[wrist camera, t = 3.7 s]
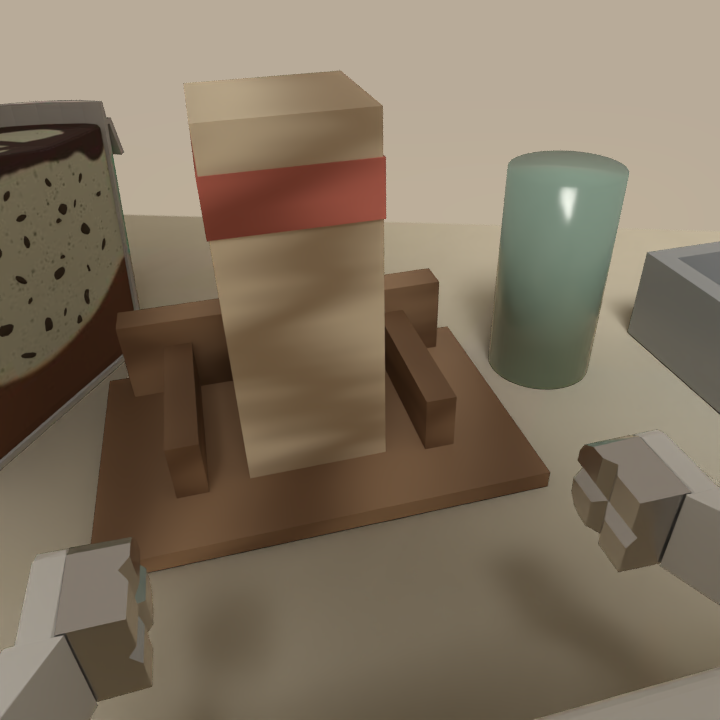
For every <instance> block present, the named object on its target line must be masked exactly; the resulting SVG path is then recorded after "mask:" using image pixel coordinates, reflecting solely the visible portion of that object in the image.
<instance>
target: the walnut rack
mask: <svg viewBox="0 0 720 720" xmlns="http://www.w3.org/2000/svg"><path fill="white" fill-rule="evenodd" d="M438 295H439V281H438V280H437V278H436V277H435V276H434V275H433V273H432V272H431V271H430V269H429V268H428V269H421V270H414V271H407V272H400V273H393V274H386V275H384V315H385V438H386V452H382V453H377V454H372V455H367V456H362V457H357V458H351V459H346V460H341V461H336V462H331V463H326V464H321V465H316V466H311V467H306V468H301V469H295V470H290V471H285V472H280V473H275V474H270V475H265V476H260V477H255V478H250V474H249V468H248V462H247V457H246V451H245V445H244V439H243V434H242V428H241V422H240V416H239V411H238V405H237V399H236V394H235V388H234V382H233V376H232V371H231V365H230V359H229V353H228V348H227V342H226V336H225V330H224V325H223V319H222V313H221V308H220V302H219V298H218V299H211V300H204V301H197V302H190V303H183V304H176V305H169V306H162V307H155V308H148V309H141V310H134V311H127V312H120V313H118V314H117V322H116V332H117V336H118V339H119V343H120V346H121V350H122V353H123V357H124V360H125V364H126V367H127V371H128V374H129V378H126V379H119V380H113V381H110V384H109V392H108V401H107V410H106V418H105V427H104V436H103V444H102V453H101V461H100V470H99V479H98V487H97V496H96V504H95V513H94V522H93V530H92V539H91V544H95V543H100V542H106V541H112V540H117V539H123V538H128V537H135V538H136V540H137V543H138V546H139V548H140V565H141V566H143V567H145V568H146V569H147V572H153V571H158V570H162V569H167V568H171V567H176V566H181V565H185V564H190V563H194V562H199V561H204V560H208V559H213V558H217V557H222V556H227V555H231V554H236V553H240V552H245V551H250V550H254V549H259V548H263V547H268V546H273V545H277V544H282V543H286V542H291V541H296V540H300V539H305V538H309V537H314V536H319V535H323V534H328V533H332V532H337V531H342V530H346V529H351V528H356V527H360V526H365V525H369V524H374V523H379V522H383V521H388V520H392V519H397V518H402V517H406V516H411V515H415V514H420V513H425V512H429V511H434V510H438V509H443V508H448V507H452V506H457V505H461V504H466V503H471V502H475V501H480V500H484V499H489V498H494V497H498V496H503V495H507V494H512V493H517V492H521V491H526V490H531V489H535V488H540V487H544V486H548V481H549V475H550V472H549V470H548V469H547V467H546V466H545V464H544V463H543V462H542V460H541V459H540V457H539V456H538V454H537V453H536V452H535V450H534V449H533V447H532V446H531V445H530V443H529V442H528V440H527V439H526V437H525V436H524V435H523V433H522V432H521V430H520V429H519V427H518V426H517V425H516V423H515V422H514V420H513V419H512V418H511V416H510V415H509V413H508V412H507V410H506V409H505V408H504V406H503V405H502V403H501V402H500V401H499V399H498V398H497V396H496V395H495V393H494V392H493V391H492V389H491V388H490V386H489V385H488V383H487V382H486V381H485V379H484V378H483V376H482V375H481V374H480V372H479V371H478V369H477V368H476V366H475V365H474V364H473V362H472V361H471V359H470V358H469V356H468V355H467V354H466V352H465V351H464V349H463V348H462V347H461V345H460V344H459V342H458V341H457V339H456V338H455V337H454V335H453V334H452V332H451V331H450V329H449V328H448V327H441V328H437V316H438Z"/></svg>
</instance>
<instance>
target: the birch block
mask: <svg viewBox="0 0 720 720" xmlns="http://www.w3.org/2000/svg"><path fill="white" fill-rule="evenodd" d="M184 93H185V101H186V108H187V116H188V124H189V130H190V138H191V146H192V152H193V161H194V169H195V177H196V182H197V188H198V194H199V199H200V205H201V210H202V217H203V222H204V228H205V234H206V239H207V241H209V244H210V250H211V256H212V262H213V267H214V273H215V279H216V285H217V290H218V296H219V302H220V308H221V313H222V319H223V325H224V330H225V336H226V342H227V348H228V353H229V359H230V365H231V371H232V376H233V382H234V388H235V394H236V399H237V405H238V411H239V416H240V422H241V428H242V434H243V439H244V445H245V451H246V457H247V462H248V468H249V474H250V478H255V477H260V476H265V475H270V474H275V473H280V472H285V471H290V470H295V469H301V468H306V467H311V466H316V465H321V464H326V463H331V462H336V461H341V460H346V459H351V458H357V457H362V456H367V455H372V454H377V453H382V452H386V438H385V315H384V219H386V157H385V156H384V155H383V106H382V105H381V104H380V103H379V102H378V101H376V100H375V99H374V98H373V97H372V96H370V95H369V94H368V93H367V92H366V91H364V90H363V89H362V88H361V87H360V86H358V85H357V84H356V83H355V82H354V81H352V80H351V79H350V78H349V77H348V76H346V75H345V74H344V73H343V72H342V71H330V72H319V73H306V74H293V75H280V76H269V77H255V78H243V79H230V80H218V81H206V82H193V83H184Z"/></svg>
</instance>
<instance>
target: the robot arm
mask: <svg viewBox="0 0 720 720" xmlns="http://www.w3.org/2000/svg"><path fill="white" fill-rule="evenodd" d="M578 462H579V463H580V464H581V466H582V467H583V468H582V469H581V470H580V471H579V472H578V473H577V475H576V476H575V477H574V479H573V484H572V490H571V491H572V497H573V503H574V506H575V509H576V511H577V513H578V515H579V517H580V518H581V520H582V521H583V523H584V524H585V526H587V527H589V528H591V529H593V530H594V531H596V532H598V533H599V542H598V544H599V546H600V547H601V549H602V550H603V552H604V553H605V554H606V556H607V557H608V559H609V560H610V561H611V563H612V564H613V566H614V567H615V568H616V570H617V571H618V572H623V571H627V570H632V569H637V568H641V567H646V566H651V565H655V564H660V563H661V564H660V566H661V567H662V568H664V569H665V570H667V571H668V572H670V573H671V574H673V575H674V576H676V577H677V578H679V579H681V580H682V581H684V582H685V583H687V584H688V585H690V586H691V587H693V588H694V589H696V590H697V591H699V592H700V593H702V594H703V595H705V596H706V597H708V598H709V599H711V600H712V601H714V602H715V603H717V604H718V605H720V487H718V486H717V485H716V484H715V483H714V482H713V481H712V480H711V479H710V478H709V477H708V476H707V475H706V474H705V473H704V472H703V471H702V470H701V469H700V468H699V467H698V466H697V465H696V464H695V463H694V462H693V461H692V460H691V459H690V458H689V457H688V456H687V455H686V454H685V453H684V452H683V451H682V450H681V449H680V448H679V447H678V446H677V445H676V444H675V443H674V442H673V441H672V440H671V439H670V438H669V437H668V436H667V435H666V434H665V433H664V432H662V431H660V430H653V431H648V432H643V433H638V434H634V435H628V436H623V437H618V438H614V439H609V440H604V441H600V442H595V443H590V444H586V445H584V446H583V447H582V449H581V450H580V453H579V457H578ZM153 624H154V608H153V597H152V589H151V584H150V579H149V575H148V572H147V569H146V568H145V567H143V566H141V565H140V548H139V546H138V543H137V540H136V538H135V537H128V538H123V539H117V540H112V541H106V542H100V543H95V544H89V545H83V546H78V547H72V548H69V549H64V550H58V551H53V552H47V553H42V554H37V555H36V557H35V559H34V560H33V562H32V564H31V568H30V573H29V578H28V583H27V587H26V592H25V597H24V602H23V606H22V611H21V616H20V621H19V625H18V630H17V635H16V640H15V644H14V646H12V647H8V648H4V649H3V650H2V651H1V653H0V720H90V718H91V716H92V715H93V713H94V711H95V709H96V708H97V706H98V705H97V702H99V701H102V700H106V699H110V698H113V697H117V696H121V695H124V694H128V693H132V692H135V691H139V690H143V689H146V688H150V687H152V679H153V647H152V644H151V641H150V638H149V635H148V631H149V630H150V628H151V627H152V626H153ZM533 720H720V667H716V668H713V669H709V670H706V671H702V672H699V673H695V674H692V675H688V676H685V677H681V678H678V679H674V680H671V681H667V682H664V683H660V684H657V685H653V686H650V687H646V688H642V689H639V690H635V691H632V692H628V693H625V694H621V695H618V696H614V697H611V698H607V699H604V700H600V701H597V702H593V703H590V704H586V705H583V706H579V707H576V708H572V709H569V710H565V711H562V712H558V713H555V714H551V715H547V716H544V717H540V718H537V719H533Z"/></svg>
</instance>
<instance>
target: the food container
mask: <svg viewBox="0 0 720 720" xmlns="http://www.w3.org/2000/svg"><path fill="white" fill-rule="evenodd" d="M123 153H124V151H123V148H122V146H121V143H120V141H119V138H118V136H117V133H116V130H115V127H114V125H113V122H112V120H111V118H108V117H106V114H105V111H104V107H103V103H102V101H84V100H58V101H35V102H21V103H9V104H0V470H1V469H2V468H4V467H5V466H6V465H7V464H8V463H9V462H10V461H12V460H13V459H14V458H15V457H16V456H17V455H18V454H20V453H21V452H22V451H23V450H24V449H25V448H26V447H27V446H29V445H30V444H31V443H32V442H33V441H34V440H35V439H37V438H38V437H39V436H40V435H41V434H42V433H43V432H45V431H46V430H47V429H48V428H49V427H50V426H51V425H52V424H54V423H55V422H56V421H57V420H58V419H59V418H60V417H62V416H63V415H64V414H65V413H66V412H67V411H68V410H70V409H71V408H72V407H73V406H74V405H75V404H76V403H77V402H79V401H80V400H81V399H82V398H83V397H84V396H85V395H87V394H88V393H89V392H90V391H91V390H92V389H93V388H95V387H96V386H97V385H98V384H99V383H100V382H101V381H102V380H104V379H105V378H106V377H107V376H108V375H109V374H110V373H112V372H113V371H114V370H115V369H116V368H117V367H118V366H119V365H121V364H122V363H123V362H124V361H125V360H124V357H123V353H122V350H121V346H120V343H119V339H118V336H117V332H116V322H117V314H118V313H120V312H127V311H134V310H140V307H139V302H138V296H137V290H136V285H135V279H134V273H133V267H132V262H131V256H130V250H129V245H128V239H127V233H126V227H125V222H124V216H123V210H122V205H121V200H120V193H119V188H118V182H117V176H116V170H115V165H114V159H113V154H120V155H122V154H123Z"/></svg>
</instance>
